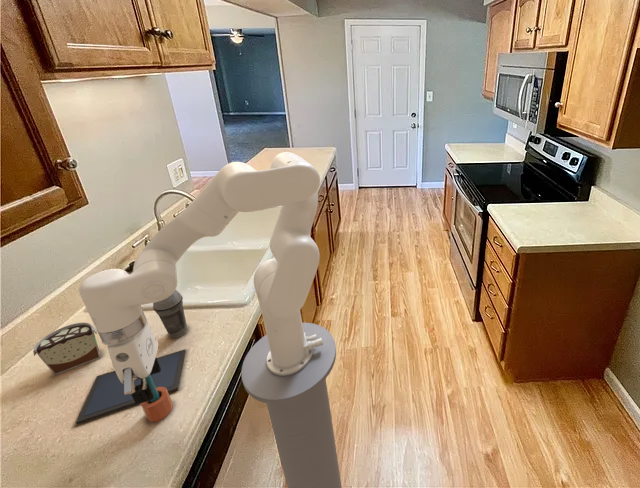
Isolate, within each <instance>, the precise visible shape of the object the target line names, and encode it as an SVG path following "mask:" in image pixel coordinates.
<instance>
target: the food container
mask: <svg viewBox="0 0 640 488" xmlns="http://www.w3.org/2000/svg"><path fill="white" fill-rule="evenodd" d="M95 334H96V335H97V334H98V332H97V330H96V327H95V326H94V325H92V324H91V323H89V322H76V323H72V324H68V325H65V326H63V327H60V328H58V329H56V330H54V331H52V332H50V333H48V334H47V335H46V336H44V337H43V338H41V340H39V341H38V342H37V343H36V345H34V347H33V351H32V353H33V356H34V357H35V356H36V355H38V357H39V358H40V360H42V362H43V363H44V365H46V367H47V368H48V369H49V370H50V371H51V373H52V374H53V375H54V376H56V375H60V374H62V373H64V372H67V371H69V370H72V369H75V368H78V367H80V366H83V365H85V364H88V363H90V362H93V361H95V360H98V359H101V352H100V349H99V345H98V342H97V338H96V335H95Z"/></svg>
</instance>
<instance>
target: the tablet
mask: <svg viewBox="0 0 640 488" xmlns="http://www.w3.org/2000/svg"><path fill="white" fill-rule="evenodd" d="M186 352H187V351H186V349H180V350H177V351H174V352H171V353H169V354H165V355H161V356H159V357H156V358H157V360H158V362H159V365H160V367H161V371H160V372H159V373H156V374H152V375H151V377H152V380H153V382H154V384H155V387H156V388H158V387H165V388H166V389H167V391H168V393H169V394H171V393H173V392H177V391H179V389H180V383H181V377H182V372H183V367H184V363H185V357H186V354H187V353H186ZM134 376H136V375H135V374H134ZM140 384H141V381H140V379H138V380H135V381H134V385H135V386H137V385H140ZM136 405H137V404H136V403H135V401H134V399H133V397H132V395H131V394H127V395H125V394H124V384H123V383H121V381H120V380H119V378H118V376H117V374H116V372H115V370H112V371H109V372H105V373H103V374H98V375H97V376H96V378H95V379H94V381H93V384H92V386H91V388H90V391H89V393H88V395H87V397H86V399H85V401H84V404H83V406H82V407H81V410H80V412H79V414H78V417H77V419H76V421H75V424H76V425H81V424H84V423H87V422H89V421H91V420H92V421H93V420H95V419H98V418H100V417H104V416H107V415H110V414H112V413H116V412H118V411H121V410H124V409H127V408H130V407H133V406H136Z"/></svg>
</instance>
